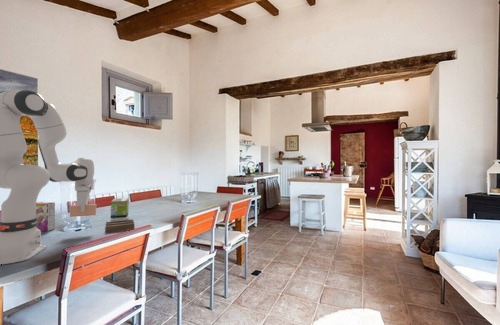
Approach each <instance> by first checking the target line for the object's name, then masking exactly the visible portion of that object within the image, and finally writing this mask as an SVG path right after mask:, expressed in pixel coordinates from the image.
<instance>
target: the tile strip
mask: <svg viewBox="0 0 500 325" xmlns="http://www.w3.org/2000/svg"><path fill="white" fill-rule="evenodd" d="M89 216H97V204H93V203H92V204H86V205H85V211H84V212H81V205H78V204H75V205H73V204H71V205H70V206H69V217H70V218H75V217H76V218H77V217H89Z"/></svg>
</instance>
